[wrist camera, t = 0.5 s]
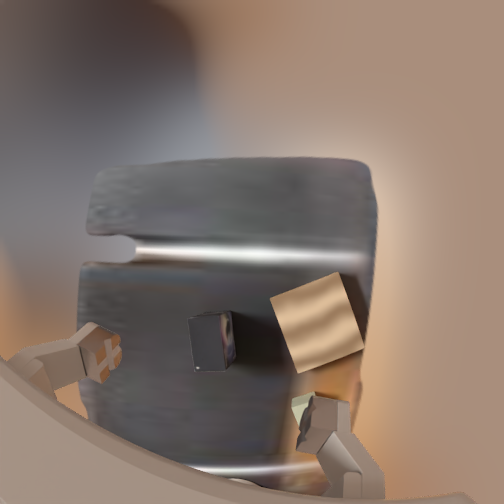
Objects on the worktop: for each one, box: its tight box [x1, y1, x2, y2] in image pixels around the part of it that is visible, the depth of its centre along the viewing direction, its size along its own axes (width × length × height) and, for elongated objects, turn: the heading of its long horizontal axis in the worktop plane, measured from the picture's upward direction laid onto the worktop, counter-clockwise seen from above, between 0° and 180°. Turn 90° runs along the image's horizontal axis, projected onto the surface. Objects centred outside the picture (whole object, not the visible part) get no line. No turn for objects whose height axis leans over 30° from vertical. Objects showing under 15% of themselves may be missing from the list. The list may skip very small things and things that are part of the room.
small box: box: [188, 311, 236, 372], centre depth 56 cm, size 11×6×10 cm, turn 7°
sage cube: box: [292, 392, 316, 425], centre depth 54 cm, size 5×5×5 cm
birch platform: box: [270, 272, 365, 373], centre depth 56 cm, size 16×14×4 cm
